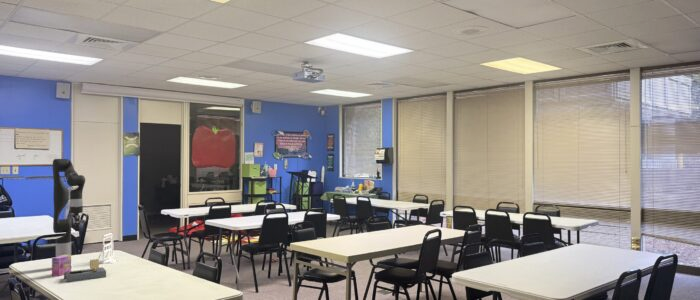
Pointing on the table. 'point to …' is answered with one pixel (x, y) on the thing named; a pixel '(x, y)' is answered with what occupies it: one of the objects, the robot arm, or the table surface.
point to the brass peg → (94, 264)
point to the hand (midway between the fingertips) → (76, 230)
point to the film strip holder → (108, 260)
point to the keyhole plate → (84, 274)
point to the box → (61, 265)
